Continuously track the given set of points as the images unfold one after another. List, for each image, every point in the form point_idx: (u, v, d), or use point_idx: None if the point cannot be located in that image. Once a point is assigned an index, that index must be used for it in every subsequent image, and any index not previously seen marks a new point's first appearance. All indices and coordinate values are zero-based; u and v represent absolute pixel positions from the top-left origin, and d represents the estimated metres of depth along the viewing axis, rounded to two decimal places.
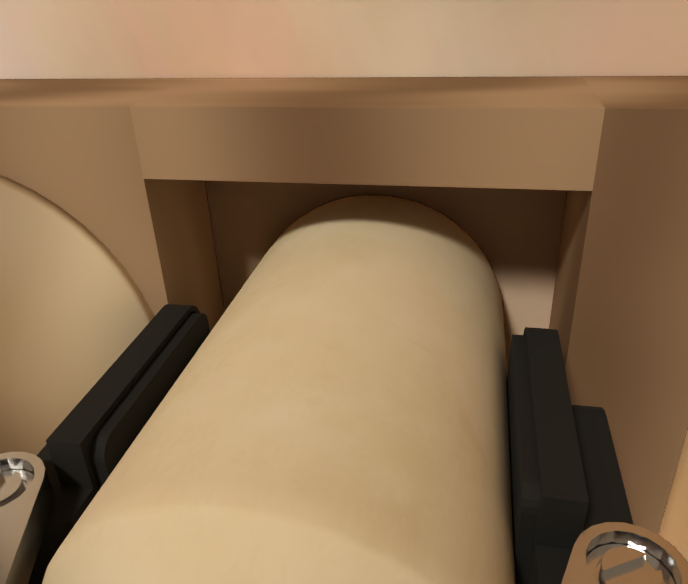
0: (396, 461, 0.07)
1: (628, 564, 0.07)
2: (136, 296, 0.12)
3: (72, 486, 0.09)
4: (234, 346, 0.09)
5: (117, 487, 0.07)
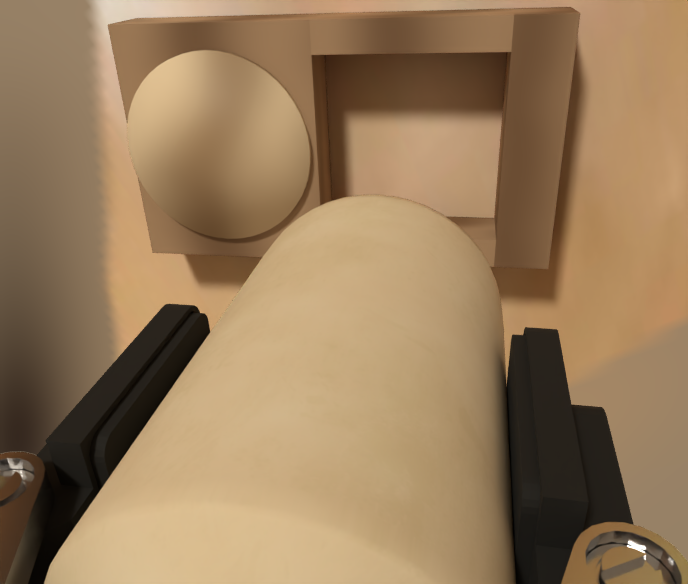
0: (397, 460, 0.07)
1: (628, 564, 0.07)
2: (301, 116, 0.26)
3: (72, 486, 0.09)
4: (235, 346, 0.09)
5: (119, 486, 0.07)
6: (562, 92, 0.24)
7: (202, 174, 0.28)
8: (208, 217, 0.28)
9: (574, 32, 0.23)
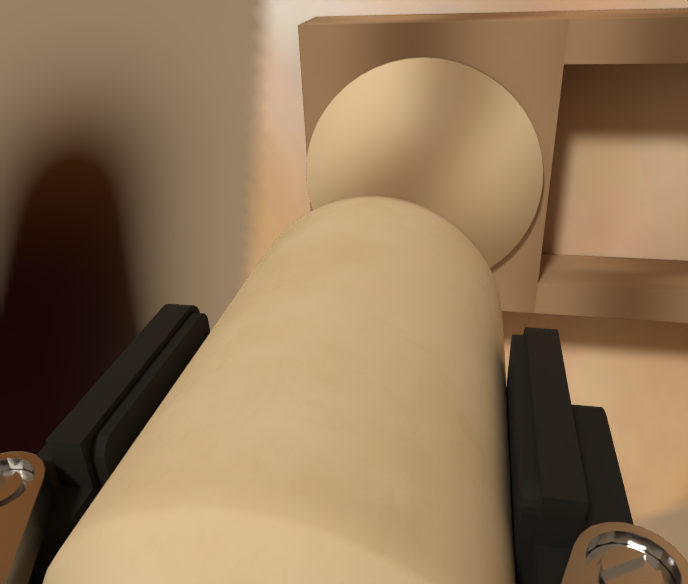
0: (396, 463, 0.07)
1: (628, 564, 0.07)
2: (538, 141, 0.20)
3: (72, 486, 0.09)
4: (234, 349, 0.09)
5: (117, 490, 0.07)
6: None
7: None
8: None
9: None
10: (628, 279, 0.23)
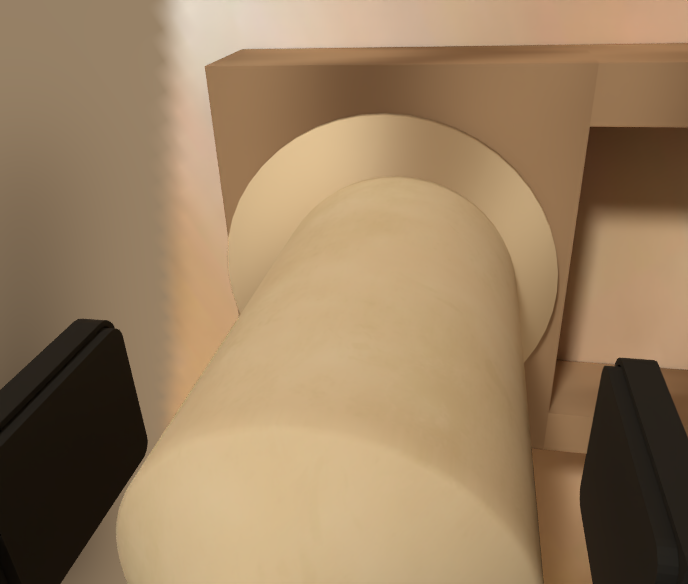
0: (435, 397, 0.08)
1: None
2: (550, 232, 0.14)
3: None
4: (281, 305, 0.10)
5: (189, 419, 0.08)
6: None
7: None
8: None
9: None
10: None
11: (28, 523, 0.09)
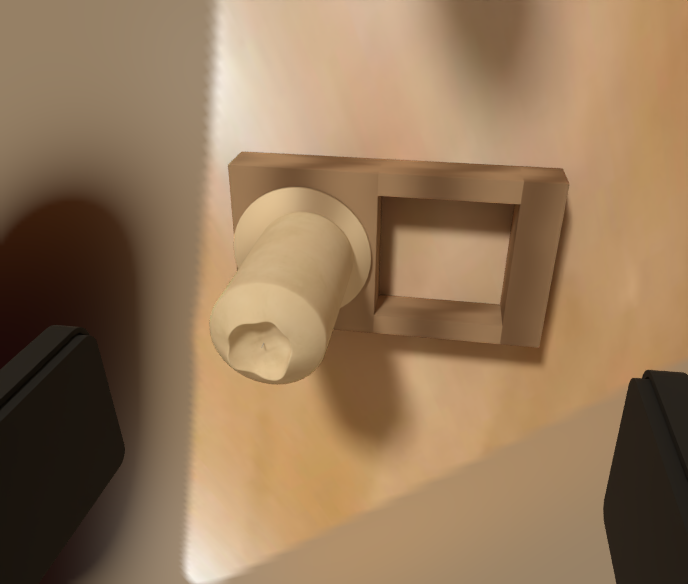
0: (299, 279, 0.29)
1: None
2: (366, 235, 0.35)
3: None
4: (258, 256, 0.30)
5: (233, 284, 0.29)
6: (554, 232, 0.34)
7: None
8: None
9: (564, 195, 0.33)
10: (427, 313, 0.38)
11: None
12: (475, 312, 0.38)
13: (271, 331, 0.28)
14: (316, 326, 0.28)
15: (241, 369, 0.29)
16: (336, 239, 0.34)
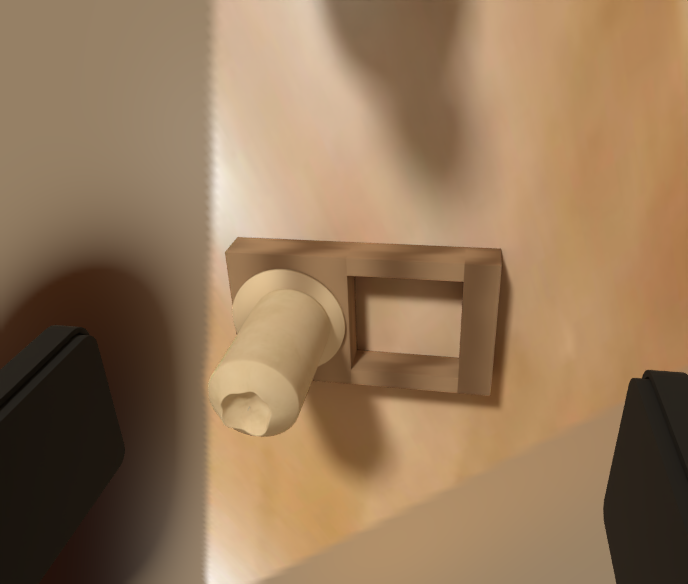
0: (277, 355, 0.36)
1: None
2: (339, 307, 0.43)
3: None
4: (246, 334, 0.38)
5: (225, 360, 0.36)
6: (493, 303, 0.41)
7: None
8: None
9: (498, 274, 0.40)
10: (396, 367, 0.45)
11: None
12: (437, 365, 0.45)
13: (254, 397, 0.36)
14: (290, 393, 0.36)
15: (232, 427, 0.36)
16: (313, 313, 0.41)
